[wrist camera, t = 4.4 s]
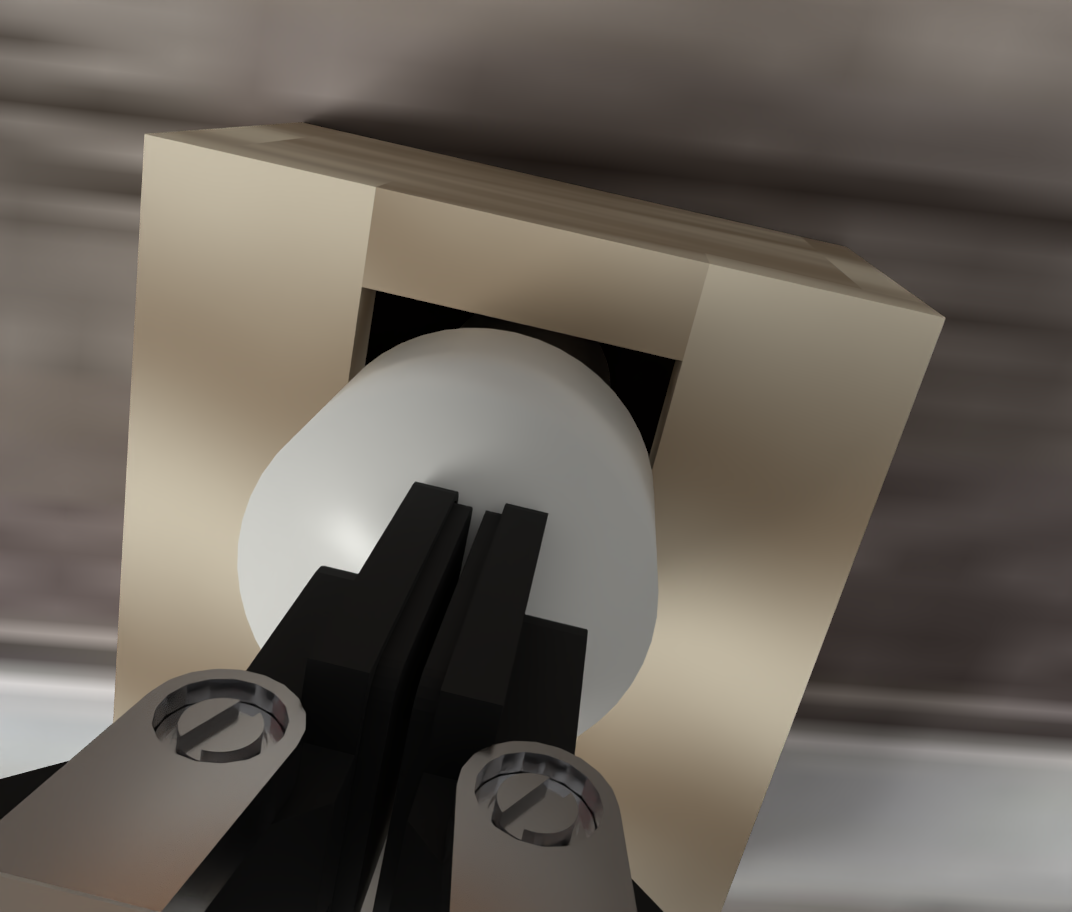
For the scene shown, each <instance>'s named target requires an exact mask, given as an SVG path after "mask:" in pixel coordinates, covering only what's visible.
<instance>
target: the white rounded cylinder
mask: <svg viewBox="0 0 1072 912" xmlns="http://www.w3.org/2000/svg"><path fill="white" fill-rule="evenodd" d="M415 481H416V482H420V483H424V484H429V485H433V486H437V487H441V488H445V489H450V490H454V491H458V492H459V498H458V504H462V505H466V506H470V507H473V511H472V517H471V522H470V527H469V532H468V537H467V542H466V547H465V552H464V556H463V561H462V566H461V571H460V575H461V572H462V570H463V567H464V565H465V562H466V560H467V557H468V554H469V552H470V549H471V547H472V544H473V542H474V539H475V537H476V534H477V531H478V529H479V526H480V524H481V521H482V519H483V516H484V514H485V511H486V510H487V511H491V512H496V513H500V514H502V512H503V509H504V506H505V504H506V503H508V504H512V505H516V506H521V507H525V508H529V509H533V510H537V511H542V512H546V513H549V514H548V518H547V522H546V526H545V531H544V535H543V539H542V543H541V548H540V552H539V556H538V560H537V565H536V569H535V573H534V577H533V582H532V586H531V590H530V594H529V599H528V603H527V607H526V611H525V614H526V615H531V616H535V617H539V618H543V619H547V620H551V621H555V622H559V623H564V624H568V625H572V626H576V627H580V628H584V629H587V630H588V637H587V646H586V656H585V665H584V674H583V683H582V693H581V702H580V711H579V721H578V730H577V736H579V735H581V734H582V733H583V732H585V731H586V730H587V729H589V728H590V727H592V726H593V725H594V724H596V723H597V722H598V721H600V720H601V719H602V718H603V717H604V716H605V715H606V714H607V713H608V712H609V711H610V710H611V709H612V708H613V707H614V706H615V705H616V704H617V703H618V701H619V700H620V699H621V698H622V696H623V695H624V694H625V692H626V691H627V690H628V688H629V687H630V686H631V684H632V683H633V681H634V679H635V677H636V676H637V674H638V672H639V670H640V668H641V667H642V665H643V663H644V660H645V657H646V655H647V652H648V650H649V647H650V644H651V642H652V637H653V633H654V628H655V623H656V619H657V607H658V572H657V549H656V527H655V504H654V488H653V475H652V470H651V465H650V461H649V456H648V452H647V449H646V447H645V444H644V442H643V439H642V436H641V434H640V431H639V429H638V427H637V426H636V424H635V422H634V420H633V418H632V416H631V415H630V413H629V411H628V410H627V408H626V407H625V406H624V404H623V403H622V402H621V400H620V399H619V398H618V396H617V395H616V393H615V392H614V391H613V390H612V389H611V388H610V373H609V368H608V364H607V360H606V357H605V355H604V352H603V350H602V348H601V346H600V344H599V342H598V341H593V340H589V339H585V338H580V337H576V336H572V335H567V334H563V333H559V332H555V331H550V330H546V329H542V328H537V327H533V326H529V325H524V324H520V323H516V322H511V321H507V320H503V319H498V318H494V317H490V316H485V315H481V314H477V313H476V314H475V315H473V316H472V317H471V318H469V319H468V320H467V321H466V322H465V323H464V324H463V325H462V326H461V327H460V328H459V329H450V330H443V331H438V332H434V333H430V334H425V335H422V336H419V337H416V338H414V339H411V340H408V341H406V342H403V343H401V344H399V345H397V346H395V347H393V348H392V349H390V350H388V351H386V352H384V353H383V354H381V355H380V356H378V357H377V358H376V359H374V360H373V361H372V362H370V363H369V364H368V365H366V366H365V367H364V368H363V369H362V370H361V371H360V372H359V373H358V374H357V375H356V376H355V377H354V378H353V379H352V380H351V381H350V382H349V383H348V384H347V385H345V386H344V387H343V388H342V389H341V390H340V391H339V392H338V393H337V394H336V395H335V396H334V397H333V398H332V399H331V400H330V401H329V402H328V403H327V404H326V405H325V406H324V407H323V408H322V409H321V410H320V411H319V412H318V413H317V414H316V415H315V416H314V417H313V418H312V419H311V420H310V421H309V422H308V423H307V424H306V425H305V426H304V427H303V428H302V429H301V430H300V431H299V432H298V433H297V434H296V435H295V436H294V437H293V438H292V439H291V440H290V441H289V442H288V443H287V444H286V445H285V446H284V447H283V448H282V449H281V450H280V451H279V452H278V453H277V454H276V456H275V457H274V458H273V460H272V461H271V462H270V464H269V465H268V466H267V468H266V469H265V471H264V472H263V473H262V475H261V477H260V479H259V481H258V482H257V484H256V486H255V488H254V490H253V492H252V494H251V496H250V499H249V502H248V504H247V507H246V510H245V513H244V516H243V519H242V524H241V530H240V535H239V541H238V560H237V570H238V579H239V588H240V594H241V598H242V602H243V606H244V610H245V614H246V617H247V620H248V622H249V625H250V627H251V630H252V632H253V635H254V637H255V640H256V641H257V643H258V645H259V647H260V649H262V647H263V646H264V644H265V643H266V641H267V640H268V639H269V637H270V636H271V634H272V633H273V631H274V630H275V629H276V627H277V626H278V624H279V623H280V622H281V620H282V619H283V617H284V616H285V614H286V613H287V612H288V610H289V609H290V607H291V606H292V604H293V603H294V602H295V600H296V599H297V597H298V596H299V594H300V593H301V592H302V590H303V589H304V587H305V586H306V585H307V583H308V582H309V580H310V579H311V577H312V576H313V575H314V573H315V572H316V571H317V570H318V568H319V567H320V566H328V567H332V568H336V569H340V570H345V571H349V572H353V573H357V574H358V573H359V572H360V570H361V568H362V567H363V565H364V564H365V562H366V560H367V559H368V557H369V555H370V554H371V552H372V550H373V549H374V547H375V545H376V544H377V542H378V541H379V539H380V537H381V536H382V534H383V532H384V531H385V529H386V527H387V526H388V524H389V523H390V521H391V519H392V518H393V516H394V514H395V513H396V511H397V509H398V508H399V506H400V504H401V503H402V501H403V500H404V498H405V496H406V495H407V493H408V491H409V490H410V488H411V486H412V485H413V483H414V482H415ZM459 577H460V576H459Z"/></svg>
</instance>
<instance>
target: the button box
mask: <svg viewBox="0 0 1072 912" xmlns="http://www.w3.org/2000/svg"><path fill="white" fill-rule="evenodd" d="M376 290H377V291H382V292H386V293H390V294H395V295H399V296H403V297H408V298H412V299H416V300H421V301H425V302H429V303H434V304H438V305H442V306H447V307H451V308H455V309H460V310H464V311H468V312H472V313H477V314H481V315H485V316H490V317H494V318H498V319H503V320H507V321H511V322H516V323H520V324H524V325H529V326H533V327H537V328H542V329H546V330H550V331H555V332H559V333H563V334H567V335H572V336H576V337H580V338H585V339H589V340H593V341H598V342H602V343H606V344H611V345H615V346H619V347H624V348H628V349H632V350H637V351H641V352H645V353H650V354H654V355H658V356H662V357H667V358H671V359H675V360H676V361H675V364H674V368H673V372H672V375H671V379H670V383H669V386H668V390H667V393H666V397H665V401H664V404H663V408H662V412H661V415H660V419H659V423H658V426H657V430H656V433H655V437H654V441H653V444H652V448H651V452H650V455H649V461H650V465H651V470H652V475H653V488H654V504H655V527H656V549H657V572H658V607H657V619H656V623H655V628H654V633H653V637H652V642H651V644H650V647H649V650H648V652H647V655H646V657H645V660H644V663H643V665H642V667H641V668H640V670H639V672H638V674H637V676H636V677H635V679H634V681H633V683H632V684H631V686H630V687H629V688H628V690H627V691H626V692H625V694H624V695H623V696H622V698H621V699H620V700H619V701H618V703H617V704H616V705H615V706H614V707H613V708H612V709H611V710H610V711H609V712H608V713H607V714H606V715H605V716H604V717H603V718H602V719H601V720H600V721H598V722H597V723H596V724H594V725H593V726H592V727H590V728H589V729H587V730H586V731H585V732H583V733H582V734H581V735H579V736H577V739H576V749H575V756H578V757H580V758H582V759H583V760H584V761H585V762H587V763H588V764H589V765H591V766H592V767H593V768H595V769H596V770H597V771H598V772H600V774H601V775H602V776H603V777H604V779H605V780H606V781H607V782H608V784H609V785H610V786H611V788H612V789H613V791H614V794H615V796H616V799H617V802H618V804H619V807H620V812H621V818H622V824H623V830H624V836H625V842H626V848H627V854H628V860H629V866H630V872H631V878H632V879H633V880H634V881H635V882H636V883H637V885H638V886H639V887H640V888H641V889H642V890H643V891H644V892H645V893H646V894H647V895H648V896H649V897H650V898H651V899H652V900H653V901H654V902H655V903H656V904H657V905H658V906H659V907H660V909H661V910H662V911H663V912H721V910H722V908H723V905H724V902H725V900H726V897H727V894H728V892H729V889H730V886H731V884H732V881H733V879H734V876H735V873H736V871H737V868H738V865H739V863H740V860H741V857H742V855H743V852H744V849H745V847H746V844H747V842H748V839H749V836H750V834H751V831H752V828H753V826H754V823H755V820H756V818H757V815H758V813H759V810H760V807H761V805H762V802H763V799H764V797H765V794H766V791H767V789H768V786H769V783H770V781H771V778H772V776H773V773H774V770H775V768H776V765H777V762H778V760H779V757H780V754H781V752H782V749H783V747H784V744H785V741H786V739H787V736H788V733H789V731H790V728H791V725H792V723H793V720H794V717H795V715H796V712H797V710H798V707H799V704H800V702H801V699H802V696H803V694H804V691H805V688H806V686H807V683H808V680H809V678H810V675H811V673H812V670H813V667H814V665H815V662H816V659H817V657H818V654H819V651H820V649H821V646H822V644H823V641H824V638H825V636H826V633H827V630H828V628H829V625H830V622H831V620H832V617H833V614H834V612H835V609H836V607H837V604H838V601H839V599H840V596H841V593H842V591H843V588H844V585H845V583H846V580H847V577H848V575H849V572H850V570H851V567H852V564H853V562H854V559H855V556H856V554H857V551H858V548H859V546H860V543H861V541H862V538H863V535H864V533H865V530H866V527H867V525H868V522H869V519H870V517H871V514H872V511H873V509H874V506H875V504H876V501H877V498H878V496H879V493H880V490H881V488H882V485H883V482H884V480H885V477H886V475H887V472H888V469H889V467H890V464H891V461H892V459H893V456H894V453H895V451H896V448H897V445H898V443H899V440H900V438H901V435H902V432H903V430H904V427H905V424H906V422H907V419H908V416H909V414H910V411H911V408H912V406H913V403H914V401H915V398H916V395H917V393H918V390H919V387H920V385H921V382H922V379H923V377H924V374H925V372H926V369H927V366H928V364H929V361H930V358H931V356H932V353H933V350H934V348H935V345H936V342H937V340H938V337H939V335H940V332H941V329H942V327H943V324H944V321H945V319H946V318H945V317H944V316H942V315H941V314H940V313H938V312H937V311H935V310H934V309H933V308H931V307H930V306H928V305H927V304H925V303H924V302H923V301H921V300H920V299H918V298H917V297H916V296H914V295H913V294H911V293H910V292H909V291H907V290H906V289H904V288H903V287H902V286H900V285H899V284H897V283H896V282H895V281H893V280H892V279H890V278H889V277H888V276H886V275H885V274H883V273H882V272H881V271H879V270H878V269H876V268H875V267H874V266H872V265H871V264H869V263H868V262H867V261H865V260H864V259H862V258H861V257H860V256H858V255H857V254H855V253H854V252H853V251H851V250H850V249H848V248H847V247H844V246H840V245H836V244H831V243H827V242H823V241H818V240H814V239H809V238H805V237H801V236H796V235H792V234H788V233H783V232H779V231H774V230H770V229H766V228H761V227H757V226H753V225H748V224H744V223H740V222H735V221H731V220H726V219H722V218H718V217H713V216H709V215H705V214H700V213H696V212H691V211H687V210H683V209H678V208H674V207H670V206H665V205H661V204H656V203H652V202H648V201H643V200H639V199H635V198H630V197H626V196H621V195H617V194H613V193H608V192H604V191H600V190H595V189H591V188H587V187H582V186H578V185H573V184H569V183H565V182H560V181H556V180H552V179H547V178H543V177H538V176H534V175H530V174H525V173H521V172H517V171H512V170H508V169H503V168H499V167H495V166H490V165H486V164H482V163H477V162H473V161H469V160H464V159H460V158H455V157H451V156H447V155H442V154H438V153H434V152H429V151H425V150H420V149H416V148H412V147H407V146H403V145H399V144H394V143H390V142H385V141H381V140H377V139H372V138H368V137H364V136H359V135H355V134H350V133H346V132H342V131H337V130H333V129H329V128H324V127H320V126H316V125H311V124H307V123H302V122H298V123H285V124H272V125H258V126H245V127H231V128H218V129H205V130H191V131H178V132H165V133H151V134H145V138H144V157H143V175H142V194H141V213H140V231H139V250H138V269H137V287H136V306H135V325H134V343H133V362H132V381H131V400H130V418H129V437H128V456H127V474H126V493H125V512H124V530H123V549H122V568H121V586H120V605H119V624H118V643H117V661H116V680H115V699H114V717H113V723H114V722H115V721H116V720H117V719H119V718H120V717H121V716H122V715H123V714H124V713H126V712H127V711H128V710H129V709H130V708H131V707H132V706H134V705H135V704H136V703H137V702H138V701H139V700H141V699H142V698H143V697H144V696H145V695H146V694H148V693H149V692H150V691H152V690H153V689H155V688H156V687H158V686H160V685H161V684H163V683H164V682H166V681H167V680H170V679H172V678H175V677H178V676H181V675H184V674H187V673H190V672H195V671H202V670H210V669H236V670H244V671H246V670H247V668H248V667H249V666H250V664H251V663H252V661H253V660H254V658H255V657H256V656H257V654H258V653H259V651H260V650H261V649H260V647H259V645H258V643H257V641H256V640H255V637H254V635H253V632H252V630H251V627H250V625H249V622H248V620H247V617H246V614H245V610H244V606H243V602H242V598H241V594H240V588H239V579H238V570H237V560H238V541H239V535H240V530H241V524H242V519H243V516H244V513H245V510H246V507H247V504H248V502H249V499H250V496H251V494H252V492H253V490H254V488H255V486H256V484H257V482H258V481H259V479H260V477H261V475H262V473H263V472H264V471H265V469H266V468H267V466H268V465H269V464H270V462H271V461H272V460H273V458H274V457H275V456H276V454H277V453H278V452H279V451H280V450H281V449H282V448H283V447H284V446H285V445H286V444H287V443H288V442H289V441H290V440H291V439H292V438H293V437H294V436H295V435H296V434H297V433H298V432H299V431H300V430H301V429H302V428H303V427H304V426H305V425H306V424H307V423H308V422H309V421H310V420H311V419H312V418H313V417H314V416H315V415H316V414H317V413H318V412H319V411H320V410H321V409H322V408H323V407H324V406H325V405H326V404H327V403H328V402H329V401H330V400H331V399H332V398H333V397H334V396H335V395H336V394H337V393H338V392H339V391H340V390H341V389H342V388H343V387H344V386H345V385H347V384H348V383H349V382H350V381H351V380H352V379H353V378H354V377H355V376H356V375H357V374H358V373H359V372H360V371H361V370H362V369H363V368H364V367H365V362H366V355H367V348H368V342H369V335H370V328H371V321H372V315H373V308H374V301H375V295H376Z"/></svg>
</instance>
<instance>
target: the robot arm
mask: <svg viewBox="0 0 1072 912" xmlns="http://www.w3.org/2000/svg"><path fill="white" fill-rule="evenodd" d="M458 498H459V492H458V491H454V490H450V489H445V488H441V487H437V486H433V485H429V484H424V483H420V482H416V481H415V482H414V483H413V485H412V486H411V488H410V490H409V491H408V493H407V495H406V496H405V498H404V500H403V501H402V503H401V504H400V506H399V508H398V509H397V511H396V513H395V514H394V516H393V518H392V519H391V521H390V523H389V524H388V526H387V527H386V529H385V531H384V532H383V534H382V536H381V537H380V539H379V541H378V542H377V544H376V545H375V547H374V549H373V550H372V552H371V554H370V555H369V557H368V559H367V560H366V562H365V564H364V565H363V567H362V568H361V570H360V572H359V573H358V574H357V573H353V572H349V571H345V570H340V569H336V568H332V567H328V566H320V567H319V568H318V570H317V571H316V572H315V573H314V575H313V576H312V577H311V579H310V580H309V582H308V583H307V585H306V586H305V587H304V589H303V590H302V592H301V593H300V594H299V596H298V597H297V599H296V600H295V602H294V603H293V604H292V606H291V607H290V609H289V610H288V612H287V613H286V614H285V616H284V617H283V619H282V620H281V622H280V623H279V624H278V626H277V627H276V629H275V630H274V631H273V633H272V634H271V636H270V637H269V639H268V640H267V641H266V643H265V644H264V646H263V647H262V649H261V650H260V651H259V653H258V654H257V656H256V657H255V658H254V660H253V661H252V663H251V664H250V666H249V667H248V668H247V670H246V671H244V670H236V669H210V670H202V671H195V672H190V673H187V674H184V675H181V676H178V677H175V678H172V679H170V680H167V681H166V682H164V683H163V684H161V685H160V686H158V687H156V688H155V689H153V690H152V691H150V692H149V693H148V694H146V695H145V696H144V697H143V698H142V699H141V700H139V701H138V702H137V703H136V704H135V705H134V706H132V707H131V708H130V709H129V710H128V711H127V712H126V713H124V714H123V715H122V716H121V717H120V718H119V719H117V720H116V721H115V722H114V723H113V724H112V725H110V726H109V727H108V728H107V729H106V730H105V731H103V732H102V733H101V734H100V735H99V736H98V737H96V738H95V739H94V740H93V741H92V742H91V743H89V744H88V745H87V746H86V747H85V748H84V749H82V750H81V751H80V752H79V753H78V754H77V755H75V756H74V757H73V758H72V759H71V760H70V761H67V762H63V763H59V764H55V765H52V766H48V767H44V768H40V769H37V770H33V771H29V772H25V773H22V774H18V775H14V776H10V777H7V778H3V779H0V912H360V911H361V909H362V906H363V903H364V900H365V897H366V894H367V892H368V889H369V886H370V883H371V880H372V877H373V875H374V872H375V869H376V866H377V863H378V860H379V857H380V855H381V852H382V849H383V846H384V843H385V840H386V838H387V840H386V845H385V850H384V855H383V860H382V865H381V871H380V876H379V881H378V886H377V891H376V896H375V901H374V906H373V911H372V912H663V911H662V910H661V909H660V907H659V906H658V905H657V904H656V903H655V902H654V901H653V900H652V899H651V898H650V897H649V896H648V895H647V894H646V893H645V892H644V891H643V890H642V889H641V888H640V887H639V886H638V885H637V883H636V882H635V881H634V880H633V879H632V878H631V872H630V866H629V860H628V854H627V848H626V842H625V836H624V830H623V824H622V818H621V812H620V807H619V804H618V802H617V799H616V796H615V794H614V791H613V789H612V788H611V786H610V785H609V784H608V782H607V781H606V780H605V779H604V777H603V776H602V775H601V774H600V772H598V771H597V770H596V769H595V768H593V767H592V766H591V765H589V764H588V763H587V762H585V761H584V760H583V759H582V758H580V757H578V756H575V749H576V739H577V730H578V721H579V711H580V702H581V693H582V683H583V674H584V665H585V656H586V646H587V637H588V630H587V629H584V628H580V627H576V626H572V625H568V624H564V623H559V622H555V621H551V620H547V619H543V618H539V617H535V616H531V615H526V614H525V611H526V607H527V603H528V599H529V594H530V590H531V586H532V582H533V577H534V573H535V569H536V565H537V560H538V556H539V552H540V548H541V543H542V539H543V535H544V531H545V526H546V522H547V518H548V514H549V513H546V512H542V511H537V510H533V509H529V508H525V507H521V506H516V505H512V504H508V503H506V504H505V506H504V509H503V512H502V514H500V513H496V512H491V511H487V510H486V511H485V514H484V516H483V519H482V521H481V524H480V526H479V529H478V531H477V534H476V537H475V539H474V542H473V544H472V547H471V549H470V552H469V554H468V557H467V560H466V562H465V565H464V567H463V570H462V572H461V575H460V571H461V566H462V561H463V556H464V552H465V547H466V542H467V537H468V532H469V527H470V522H471V517H472V511H473V507H470V506H466V505H462V504H458ZM459 576H460V577H459Z"/></svg>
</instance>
